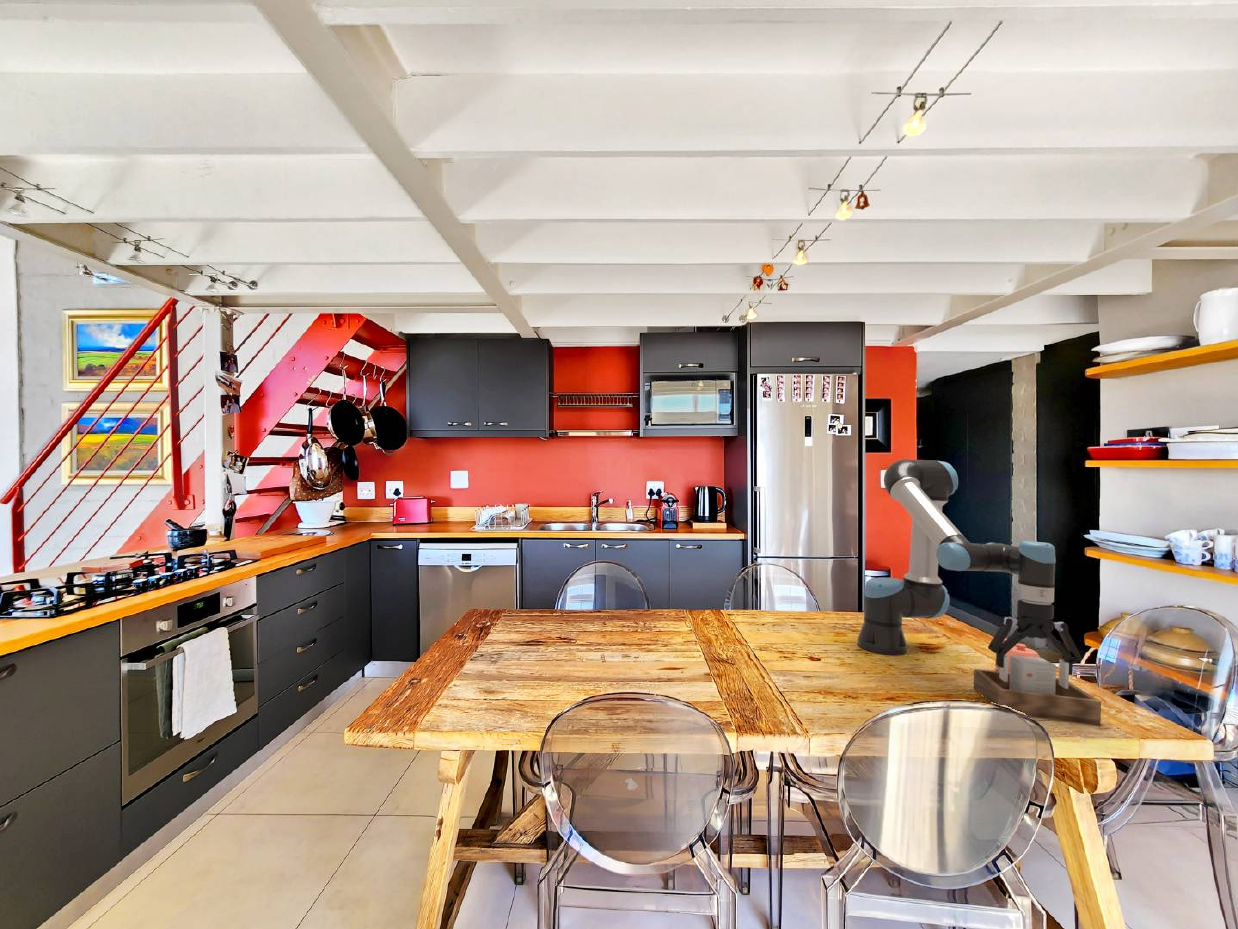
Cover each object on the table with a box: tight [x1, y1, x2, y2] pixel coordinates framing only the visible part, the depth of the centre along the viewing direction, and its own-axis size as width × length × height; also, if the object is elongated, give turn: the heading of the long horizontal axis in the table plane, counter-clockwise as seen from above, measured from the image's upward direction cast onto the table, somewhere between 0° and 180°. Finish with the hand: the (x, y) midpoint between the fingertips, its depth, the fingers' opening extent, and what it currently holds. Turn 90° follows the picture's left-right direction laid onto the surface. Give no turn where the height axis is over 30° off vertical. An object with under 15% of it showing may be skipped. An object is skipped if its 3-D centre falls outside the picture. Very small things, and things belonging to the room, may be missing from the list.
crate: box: [973, 668, 1102, 726], centre depth 138 cm, size 21×15×6 cm
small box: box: [1009, 656, 1057, 695], centre depth 138 cm, size 8×6×10 cm
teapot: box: [994, 637, 1041, 673], centre depth 160 cm, size 12×18×10 cm
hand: (1033, 683), depth 138 cm, fingers open, 13 cm apart
